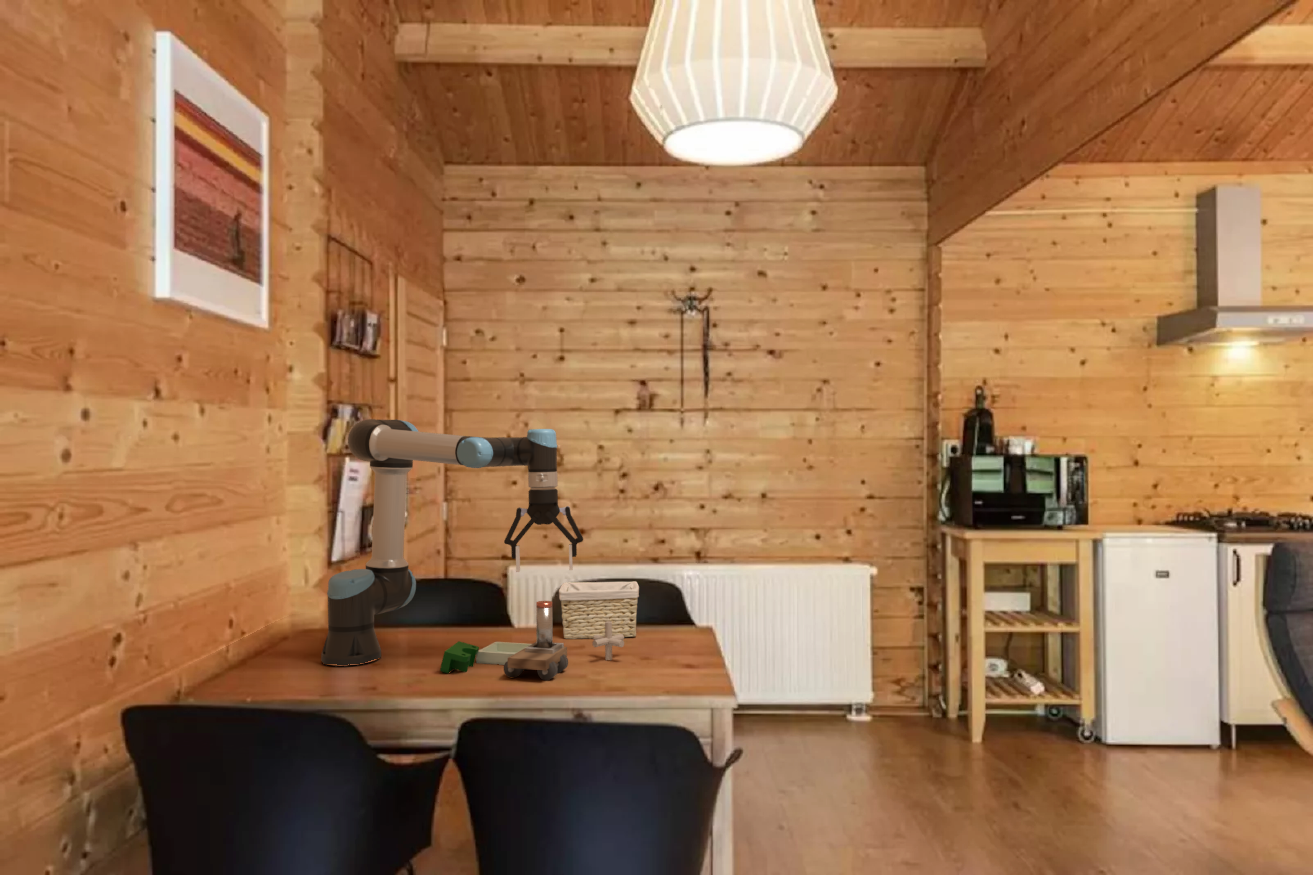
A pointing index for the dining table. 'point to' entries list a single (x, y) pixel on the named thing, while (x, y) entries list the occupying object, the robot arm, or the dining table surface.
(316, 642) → the dining table surface
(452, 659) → the clamp
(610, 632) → the pipe connector
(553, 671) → the trolley
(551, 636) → the pin
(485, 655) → the tray
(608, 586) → the storage basket
